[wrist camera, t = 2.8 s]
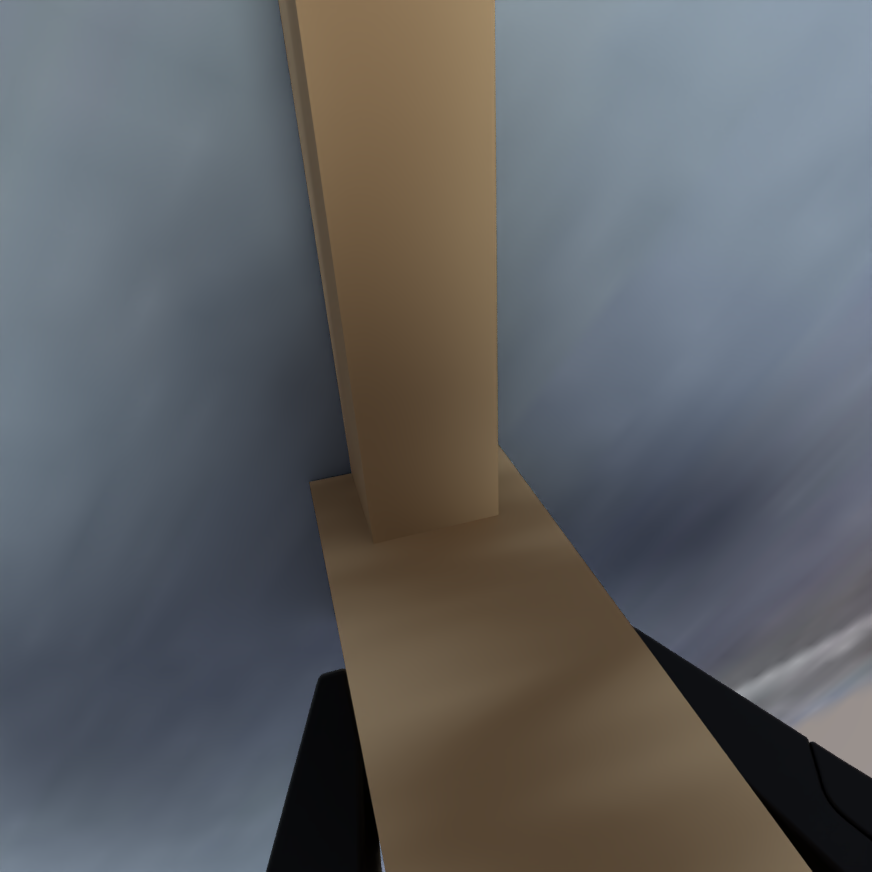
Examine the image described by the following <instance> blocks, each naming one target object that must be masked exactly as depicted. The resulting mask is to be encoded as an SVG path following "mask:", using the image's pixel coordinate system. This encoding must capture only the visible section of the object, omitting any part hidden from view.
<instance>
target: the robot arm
mask: <svg viewBox="0 0 872 872" xmlns="http://www.w3.org/2000/svg"><path fill="white" fill-rule="evenodd" d="M631 626H632V625H631ZM632 627H633V626H632ZM633 628H634V630H635V631H636V632H637V634H638V635H639V636H640V638H641V639H642V641H643V642H644V643H645V645H646V646H647V647H648V649H649V650H650V651H651V653H652V654H653V655H654V657H655V658H656V660H657V661H658V662H659V664H660V665H661V666H662V668H663V669H664V670H665V672H666V673H667V675H668V676H669V677H670V679H671V680H672V681H673V683H674V684H675V685H676V687H677V688H678V690H679V691H680V692H681V694H682V695H683V696H684V698H685V699H686V700H687V702H688V703H689V704H690V706H691V707H692V709H693V710H694V711H695V713H696V714H697V715H698V717H699V718H700V719H701V721H702V722H703V724H704V725H705V726H706V728H707V729H708V730H709V732H710V733H711V734H712V736H713V737H714V738H715V740H716V741H717V743H718V744H719V745H720V747H721V748H722V749H723V751H724V752H725V753H726V755H727V756H728V758H729V759H730V760H731V762H732V763H733V764H734V766H735V767H736V768H737V770H738V771H739V772H740V774H741V775H742V777H743V778H744V779H745V781H746V782H747V783H748V785H749V786H750V787H751V789H752V790H753V792H754V793H755V794H756V796H757V797H758V798H759V800H760V801H761V802H762V804H763V805H764V807H765V808H766V809H767V811H768V812H769V813H770V815H771V816H772V817H773V819H774V820H775V821H776V823H777V824H778V826H779V827H780V828H781V830H782V831H783V832H784V834H785V835H786V836H787V838H788V839H789V841H790V842H791V843H792V845H793V846H794V847H795V849H796V850H797V851H798V853H799V854H800V855H801V857H802V858H803V860H804V861H805V862H806V864H807V865H808V866H809V868H810V869H811V870H812V872H872V778H871V777H869V776H867V775H866V774H864V773H863V772H861V771H859V770H858V769H856V768H854V767H853V766H851V765H849V764H848V763H846V762H845V761H843V760H841V759H840V758H838V757H837V756H835V755H834V754H832V753H831V752H829V751H827V750H826V749H824V748H823V747H821V746H820V745H818V744H816V743H815V742H810V743H809V741H808V739H807V737H805V736H803V735H802V734H800V733H799V732H797V731H796V730H794V729H793V728H791V727H790V726H788V725H786V724H785V723H783V722H782V721H780V720H779V719H777V718H776V717H774V716H772V715H771V714H769V713H768V712H766V711H765V710H763V709H761V708H760V707H758V706H757V705H755V704H754V703H752V702H751V701H749V700H747V699H746V698H744V697H743V696H741V695H740V694H738V693H736V692H735V691H733V690H732V689H730V688H729V687H727V686H726V685H724V684H722V683H721V682H719V681H718V680H716V679H715V678H713V677H711V676H710V675H708V674H707V673H705V672H704V671H702V670H701V669H699V668H697V667H696V666H694V665H693V664H691V663H690V662H688V661H686V660H685V659H683V658H682V657H680V656H679V655H677V654H676V653H674V652H672V651H671V650H669V649H668V648H666V647H665V646H663V645H662V644H660V643H658V642H657V641H655V640H654V639H652V638H651V637H649V636H647V635H646V634H644V633H643V632H641V631H640V630H638V629H637V628H635V627H633ZM266 872H382V868H381V856H380V844H379V835H378V830H377V825H376V820H375V815H374V809H373V804H372V799H371V794H370V789H369V784H368V779H367V774H366V769H365V764H364V759H363V754H362V748H361V743H360V738H359V733H358V728H357V723H356V718H355V713H354V708H353V703H352V698H351V692H350V687H349V682H348V677H347V672H346V669H338V670H335V671H331V672H327V673H324V674H322V675H320V677H319V678H318V681H317V684H316V688H315V692H314V695H313V699H312V703H311V707H310V710H309V714H308V718H307V721H306V725H305V729H304V733H303V736H302V740H301V744H300V747H299V751H298V755H297V759H296V762H295V766H294V770H293V773H292V777H291V781H290V785H289V788H288V792H287V796H286V799H285V803H284V807H283V810H282V814H281V818H280V822H279V825H278V829H277V833H276V836H275V840H274V844H273V848H272V851H271V855H270V859H269V862H268V866H267V870H266Z"/></svg>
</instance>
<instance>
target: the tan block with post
mask: <svg viewBox="0 0 872 872" xmlns="http://www.w3.org/2000/svg"><path fill="white" fill-rule="evenodd" d="M278 2H279V9H280V15H281V22H282V28H283V34H284V41H285V47H286V54H287V60H288V67H289V73H290V80H291V86H292V92H293V99H294V105H295V112H296V118H297V125H298V131H299V137H300V144H301V150H302V157H303V163H304V170H305V176H306V183H307V189H308V195H309V202H310V208H311V215H312V221H313V228H314V234H315V241H316V247H317V253H318V260H319V266H320V273H321V279H322V286H323V292H324V298H325V305H326V311H327V318H328V324H329V331H330V337H331V344H332V350H333V356H334V363H335V369H336V376H337V382H338V389H339V395H340V402H341V408H342V414H343V421H344V427H345V434H346V440H347V447H348V453H349V459H350V466H351V472H352V473H350V474H345V475H340V476H336V477H331V478H326V479H321V480H316V481H311V482H309V484H310V489H311V494H312V499H313V504H314V509H315V514H316V519H317V524H318V530H319V535H320V540H321V545H322V550H323V555H324V560H325V565H326V570H327V575H328V580H329V586H330V591H331V596H332V601H333V606H334V611H335V616H336V621H337V626H338V631H339V636H340V642H341V647H342V652H343V657H344V662H345V667H346V672H347V677H348V682H349V687H350V692H351V698H352V703H353V708H354V713H355V718H356V723H357V728H358V733H359V738H360V743H361V748H362V754H363V759H364V764H365V769H366V774H367V779H368V784H369V789H370V794H371V799H372V804H373V809H374V815H375V820H376V825H377V830H378V835H379V840H380V845H381V850H382V855H383V860H384V865H385V871H386V872H812V870H811V869H810V868H809V866H808V865H807V864H806V862H805V861H804V860H803V858H802V857H801V855H800V854H799V853H798V851H797V850H796V849H795V847H794V846H793V845H792V843H791V842H790V841H789V839H788V838H787V836H786V835H785V834H784V832H783V831H782V830H781V828H780V827H779V826H778V824H777V823H776V821H775V820H774V819H773V817H772V816H771V815H770V813H769V812H768V811H767V809H766V808H765V807H764V805H763V804H762V802H761V801H760V800H759V798H758V797H757V796H756V794H755V793H754V792H753V790H752V789H751V787H750V786H749V785H748V783H747V782H746V781H745V779H744V778H743V777H742V775H741V774H740V772H739V771H738V770H737V768H736V767H735V766H734V764H733V763H732V762H731V760H730V759H729V758H728V756H727V755H726V753H725V752H724V751H723V749H722V748H721V747H720V745H719V744H718V743H717V741H716V740H715V738H714V737H713V736H712V734H711V733H710V732H709V730H708V729H707V728H706V726H705V725H704V724H703V722H702V721H701V719H700V718H699V717H698V715H697V714H696V713H695V711H694V710H693V709H692V707H691V706H690V704H689V703H688V702H687V700H686V699H685V698H684V696H683V695H682V694H681V692H680V691H679V690H678V688H677V687H676V685H675V684H674V683H673V681H672V680H671V679H670V677H669V676H668V675H667V673H666V672H665V670H664V669H663V668H662V666H661V665H660V664H659V662H658V661H657V660H656V658H655V657H654V655H653V654H652V653H651V651H650V650H649V649H648V647H647V646H646V645H645V643H644V642H643V641H642V639H641V638H640V636H639V635H638V634H637V632H636V631H635V630H634V628H633V627H632V626H631V624H630V623H629V621H628V620H627V619H626V617H625V616H624V615H623V613H622V612H621V611H620V609H619V608H618V607H617V605H616V604H615V602H614V601H613V600H612V598H611V597H610V596H609V594H608V593H607V592H606V590H605V589H604V587H603V586H602V585H601V583H600V582H599V581H598V579H597V578H596V577H595V575H594V574H593V573H592V571H591V570H590V568H589V567H588V566H587V564H586V563H585V562H584V560H583V559H582V558H581V556H580V555H579V553H578V552H577V551H576V549H575V548H574V547H573V545H572V544H571V543H570V541H569V540H568V538H567V537H566V536H565V534H564V533H563V532H562V530H561V529H560V528H559V526H558V525H557V524H556V522H555V521H554V519H553V518H552V517H551V515H550V514H549V513H548V511H547V510H546V509H545V507H544V506H543V504H542V503H541V502H540V500H539V499H538V498H537V496H536V495H535V494H534V492H533V491H532V490H531V488H530V487H529V485H528V484H527V483H526V481H525V480H524V479H523V477H522V476H521V475H520V473H519V472H518V470H517V469H516V468H515V466H514V465H513V464H512V462H511V461H510V460H509V458H508V457H507V456H506V454H505V453H504V451H503V450H502V449H501V447H500V446H499V445H498V376H497V241H496V106H495V0H278Z"/></svg>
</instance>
